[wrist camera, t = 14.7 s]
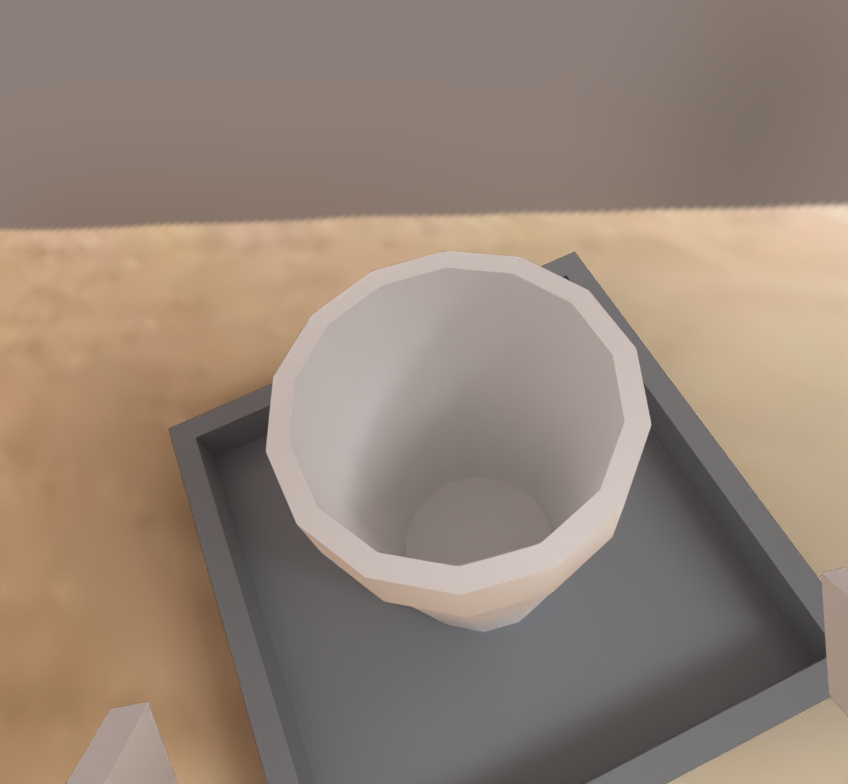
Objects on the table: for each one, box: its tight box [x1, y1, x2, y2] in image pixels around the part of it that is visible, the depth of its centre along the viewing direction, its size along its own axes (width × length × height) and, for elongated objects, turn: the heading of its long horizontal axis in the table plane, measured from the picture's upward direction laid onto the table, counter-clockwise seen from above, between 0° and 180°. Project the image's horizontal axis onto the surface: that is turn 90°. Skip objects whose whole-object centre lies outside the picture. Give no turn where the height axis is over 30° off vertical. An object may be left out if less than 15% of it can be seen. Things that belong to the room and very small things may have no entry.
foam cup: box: [266, 251, 651, 632], centre depth 23 cm, size 10×9×13 cm
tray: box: [169, 252, 831, 784], centre depth 28 cm, size 20×20×3 cm
